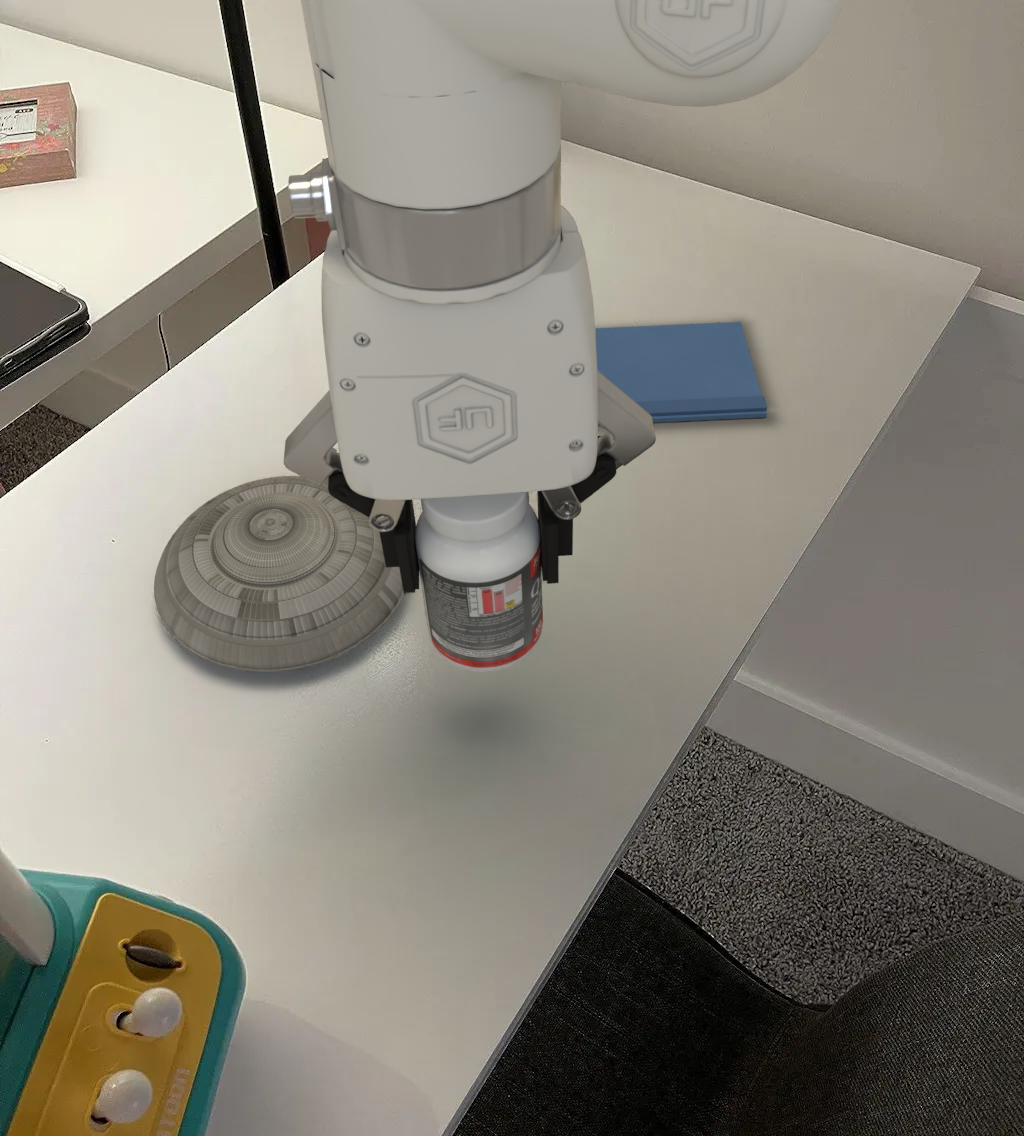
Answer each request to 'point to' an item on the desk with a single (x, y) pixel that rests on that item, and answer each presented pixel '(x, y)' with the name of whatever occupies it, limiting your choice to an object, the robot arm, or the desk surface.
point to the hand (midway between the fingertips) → (479, 563)
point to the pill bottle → (481, 578)
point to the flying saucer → (274, 577)
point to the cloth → (683, 370)
